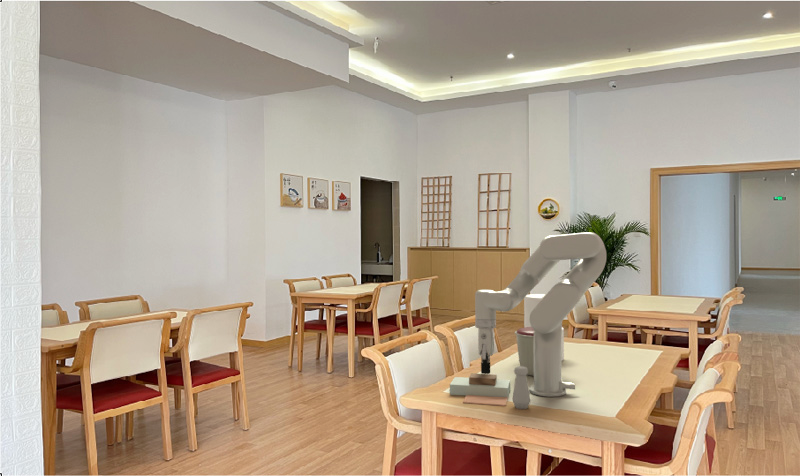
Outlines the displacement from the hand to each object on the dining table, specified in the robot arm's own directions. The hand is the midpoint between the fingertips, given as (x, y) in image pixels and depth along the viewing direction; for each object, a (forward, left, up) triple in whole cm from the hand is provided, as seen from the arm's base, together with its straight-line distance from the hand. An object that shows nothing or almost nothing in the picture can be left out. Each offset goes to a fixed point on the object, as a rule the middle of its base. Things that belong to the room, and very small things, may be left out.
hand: (485, 373), depth 210 cm
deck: (+1, +8, -5) cm, 10 cm away
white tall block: (-20, -54, -5) cm, 58 cm away
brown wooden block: (0, +9, 0) cm, 9 cm away
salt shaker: (-14, +23, -5) cm, 27 cm away
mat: (-2, +19, -5) cm, 19 cm away
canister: (-18, -24, -5) cm, 31 cm away
